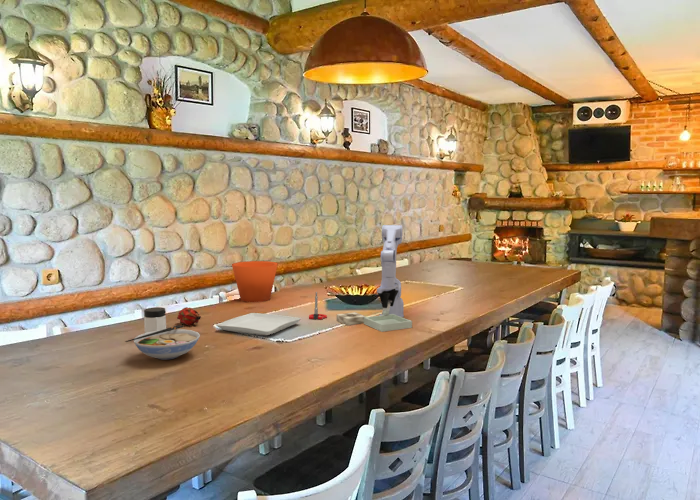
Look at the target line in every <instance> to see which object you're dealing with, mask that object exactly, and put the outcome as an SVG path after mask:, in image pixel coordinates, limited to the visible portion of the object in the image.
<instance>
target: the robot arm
mask: <svg viewBox="0 0 700 500" xmlns="http://www.w3.org/2000/svg"><path fill="white" fill-rule="evenodd" d="M403 229H404V227H403V225H402V224H398V225H397V224H383V225H382V226H381V237H382V243H383V246H382V250H381V251H380V261H381V265H380V266H381V281H380V285H379V287H378V288H376V294H377V295H378V297H379V299H380V302H381V307H382V309H383V308H387V306H388V299H389V300H392V302H391V303H390V310H389V314H394V315H397V316H400V317H403V318H405V315H404V311H405V310H404V309H405V308H404V306H405V304H404V300H403V298H402V282H401V281H400V279H398V278H397V275H396V274H397V255H398V251H397V250H398V246H399V245H400V244H403V243H402V241H403V234H404V233H403V232H404V231H403ZM380 315H382V313H380V314H379V316H380Z"/></svg>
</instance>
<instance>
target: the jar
mask: <svg viewBox="0 0 700 500" xmlns="http://www.w3.org/2000/svg"><path fill="white" fill-rule="evenodd" d="M166 311H167V310H166V308H165V307H161V306H156V307H154V306H153V307H148V308H145V309H144V310H143V317H144V318H143V321H144V322H143V325H144V333H147V332H152V331H158V330H164V329H167V315H166Z"/></svg>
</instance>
